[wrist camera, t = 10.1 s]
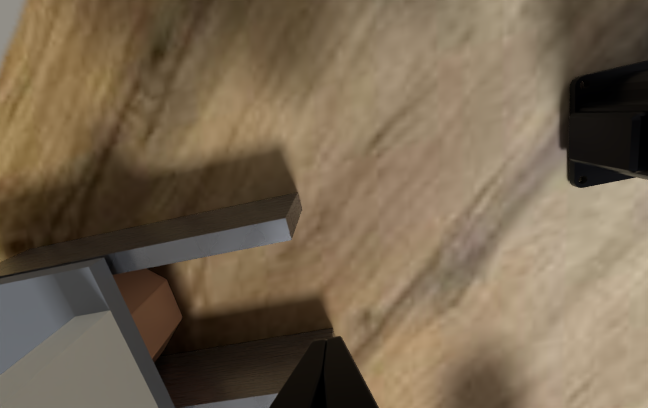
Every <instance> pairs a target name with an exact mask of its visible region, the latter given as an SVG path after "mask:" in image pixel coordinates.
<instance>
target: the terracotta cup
mask: <svg viewBox="0 0 648 408" xmlns="http://www.w3.org/2000/svg"><path fill="white" fill-rule="evenodd" d="M112 276H113V278H114V280H115V282H116V284H117V286H118V288H119V290H120V292H121V295H122V297H123V299H124V301H125V303H126V305H127V307H128V309H129V311H130V314H131V316H132V318H133V320H134V322H135V324H136V326H137V328H138V330H139V332H140V335H141V337H142V339H143V341H144V343H145V345H146V347H147V349H148V351H149V354H150V356H151V358H152V360H153V362H154V363H155V361H156V360H157V358H158V357H159V356H160V354H161V353H162V351H163V350H164V349H165V347H166V345H167V343H168V342H169V340H170V338H171V336H172V335H173V333H174V331H175V330H176V328H177V326H178V324H179V323H180V321H181V320H182V318H183V317H182V315H181V312H180V310H179V307H178V305H177V303H176V300H175V298H174V296H173V293H172V291H171V288H170V286H169V284H168V281H167V279H165V278H163V277H161V276H159V275H157V274H156V273H154V272H152V271H150V270H148V269H146V268H145V269H140V270H135V271H130V272H125V273H120V274H115V275H112Z"/></svg>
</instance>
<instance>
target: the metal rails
mask: <svg viewBox="0 0 648 408" xmlns="http://www.w3.org/2000/svg"><path fill="white" fill-rule="evenodd" d="M301 211H302V207H301V204H300V200H299V196H298V193H293V194H288V195H284V196H279V197H274V198H270V199H265V200H260V201H255V202H251V203H246V204H241V205H236V206H232V207H227V208H222V209H218V210H213V211H208V212H203V213H199V214H194V215H189V216H184V217H180V218H175V219H170V220H166V221H161V222H156V223H151V224H147V225H142V226H137V227H132V228H128V229H123V230H118V231H114V232H109V233H104V234H99V235H95V236H90V237H85V238H80V239H76V240H71V241H66V242H62V243H57V244H52V245H47V246H43V247H38V248H33V249H29V250H27V251H25V252H22V253H20V254H18V255H16V256H13V257H11V258H9V259H7V260H4V261H2V262H0V278H5V277H10V276H15V275H20V274H25V273H30V272H34V271H39V270H44V269H49V268H54V267H59V266H64V265H69V264H74V263H79V262H84V261H89V260H94V259H99V258H103V257H104V259H105V261H106V263H107V265H108V267H109V269H110V271H111V274H112V275H115V274H120V273H125V272H130V271H135V270H140V269H145V268H151V267H156V266H161V265H166V264H171V263H176V262H181V261H186V260H191V259H197V258H202V257H207V256H212V255H217V254H222V253H227V252H232V251H237V250H242V249H248V248H253V247H258V246H263V245H268V244H273V243H278V242H283V241H288V240H292V237H293V234H294V231H295V228H296V226H297V223H298V220H299V217H300V214H301ZM331 337H335V335H334V331H333V328H330V329H324V330H318V331H312V332H306V333H300V334H294V335H288V336H282V337H275V338H269V339H263V340H257V341H251V342H245V343H239V344H233V345H227V346H220V347H214V348H208V349H202V350H196V351H190V352H184V353H178V354H172V355H165V356H159V357H158V358H157V360H156V361H155V363H154V364H155V366H156V368H157V370H158V373H159V375H160V377H161V379H162V381H163V383H164V385H165V387H166V389H167V391H168V394H169V396H170V398H171V400H172V402H173V404H174V406H175V408H269V407H270V405H271V404H272V402H273V401H274V399H275V398H276V396H277V395H278V393H279V391H280V390H281V388H282V387H283V385H284V384H285V382H286V381H287V379H288V378H289V376H290V375H291V373H292V371H293V370H294V368H295V367H296V365H297V364H298V362H299V361H300V359H301V358H302V356H303V355H304V353H305V351H306V350H307V348H308V347H309V345H310V344H311V342H312V341H314V340H319V339H326V340H327V339H328V338H331Z"/></svg>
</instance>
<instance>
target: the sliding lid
mask: <svg viewBox="0 0 648 408" xmlns="http://www.w3.org/2000/svg"><path fill="white" fill-rule="evenodd" d="M0 408H175V406H174V404H173V402H172V400H171V398H170V396H169V394H168V391H167V389H166V387H165V385H164V383H163V381H162V379H161V377H160V375H159V373H158V370H157V368H156V366H155V364H154V362H153V360H152V358H151V356H150V354H149V351H148V349H147V347H146V345H145V343H144V341H143V339H142V337H141V335H140V332H139V330H138V328H137V326H136V324H135V322H134V320H133V318H132V316H131V314H130V311H129V309H128V307H127V305H126V303H125V301H124V299H123V297H122V295H121V292H120V290H119V288H118V286H117V284H116V282H115V280H114V278H113V276H112V274H111V271H110V269H109V267H108V265H107V263H106V261H105V259H104V257H103V258H99V259H94V260H89V261H84V262H79V263H74V264H69V265H64V266H59V267H54V268H49V269H44V270H39V271H34V272H30V273H25V274H20V275H15V276H10V277H5V278H0Z"/></svg>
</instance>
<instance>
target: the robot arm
mask: <svg viewBox="0 0 648 408" xmlns="http://www.w3.org/2000/svg"><path fill="white" fill-rule="evenodd" d="M582 81H583V83H584V86H583V88H582V89H581V88H580V83H581V82H582ZM569 159H570V173H569V180H570V183H571V185H573V186H576V187H579V188H584V187H589V186H594V185H599V184H604V183H610V182H615V181H620V180H625V179H630V178H635V177H638V178H642V179H647V180H648V61H643V62H639V63H635V64H630V65H626V66H621V67H617V68H613V69H608V70H604V71H600V72H595V73H591V74H587V75H582V76H578V77H576V78H575V79H574V80H572V82H571V84H570V117H569ZM581 176H582V180H581V181H580V182H579V178H580V177H581ZM269 408H379V407H378V405H377V403H376V401H375V400H374V398H373V396H372V394H371V392H370V390H369V388H368V386H367V384H366V383H365V381H364V379H363V377H362V375H361V373H360V371H359V369H358V367H357V365H356V364H355V362H354V360H353V358H352V356H351V354H350V352H349V350H348V348H347V347H346V345H345V343H344V341H343V339H342V337H340V336H337V337H331V338H328V339H327V340H326V339H319V340H314V341H312V342H311V344H310V345H309V347H308V348H307V350H306V351H305V353H304V355H303V356H302V358H301V359H300V361H299V362H298V364H297V365H296V367H295V368H294V370H293V371H292V373H291V375H290V376H289V378H288V379H287V381H286V382H285V384H284V385H283V387H282V388H281V390H280V391H279V393H278V395H277V396H276V398H275V399H274V401H273V402H272V404H271V405H270V407H269Z"/></svg>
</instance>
